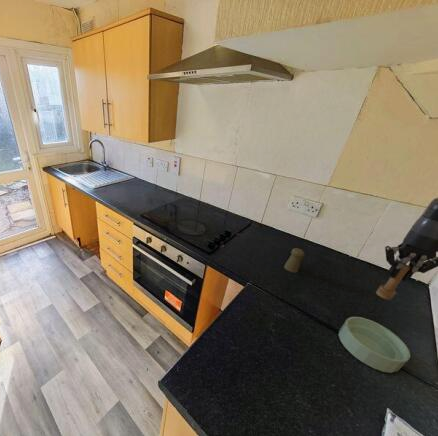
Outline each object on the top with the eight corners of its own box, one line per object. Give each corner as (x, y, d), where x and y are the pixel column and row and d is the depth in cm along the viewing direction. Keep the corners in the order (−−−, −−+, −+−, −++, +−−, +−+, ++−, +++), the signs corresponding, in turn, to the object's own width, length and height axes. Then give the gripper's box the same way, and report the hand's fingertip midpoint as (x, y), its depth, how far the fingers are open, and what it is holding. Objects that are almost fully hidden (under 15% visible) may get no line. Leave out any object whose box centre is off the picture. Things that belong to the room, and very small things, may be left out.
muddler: (388, 293, 79) (409, 264, 73) (393, 301, 76) (417, 271, 70) (373, 289, 80) (394, 260, 74) (378, 297, 77) (400, 267, 71)
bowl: (384, 339, 77) (394, 327, 75) (409, 383, 65) (422, 371, 62) (332, 322, 83) (339, 310, 80) (346, 359, 70) (355, 347, 67)
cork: (286, 263, 113) (294, 244, 108) (299, 269, 110) (308, 250, 105) (282, 268, 109) (290, 249, 104) (296, 274, 106) (304, 255, 101)
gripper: (406, 232, 66) (375, 277, 74) (472, 245, 61) (431, 292, 69) (393, 221, 72) (366, 264, 80) (452, 232, 67) (417, 277, 75)
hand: (396, 277), depth 74 cm, fingers closed on muddler, 2 cm apart
